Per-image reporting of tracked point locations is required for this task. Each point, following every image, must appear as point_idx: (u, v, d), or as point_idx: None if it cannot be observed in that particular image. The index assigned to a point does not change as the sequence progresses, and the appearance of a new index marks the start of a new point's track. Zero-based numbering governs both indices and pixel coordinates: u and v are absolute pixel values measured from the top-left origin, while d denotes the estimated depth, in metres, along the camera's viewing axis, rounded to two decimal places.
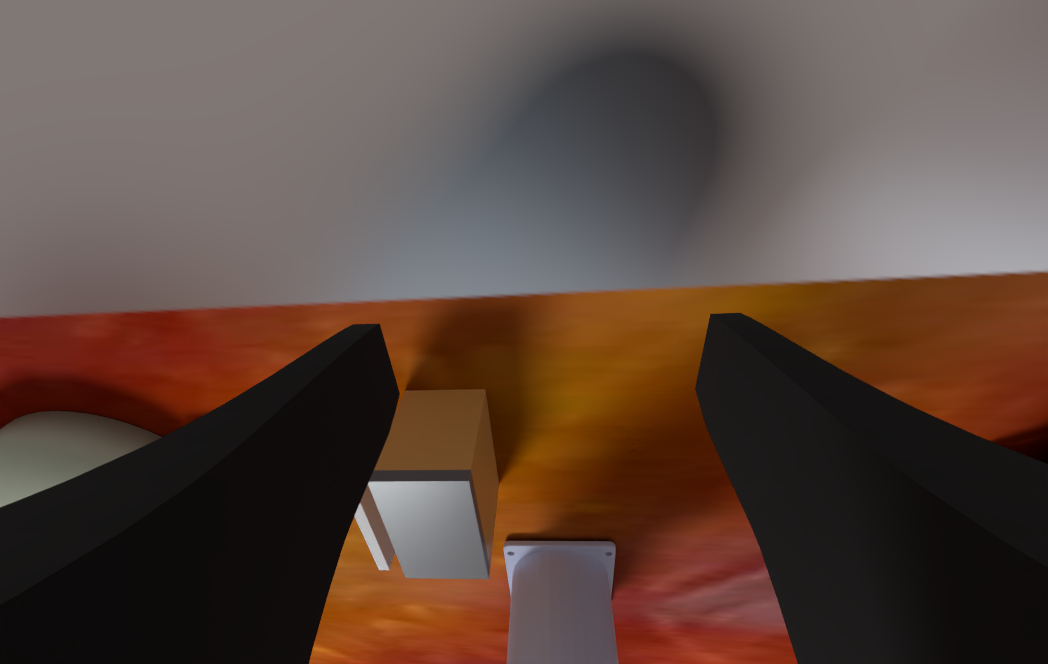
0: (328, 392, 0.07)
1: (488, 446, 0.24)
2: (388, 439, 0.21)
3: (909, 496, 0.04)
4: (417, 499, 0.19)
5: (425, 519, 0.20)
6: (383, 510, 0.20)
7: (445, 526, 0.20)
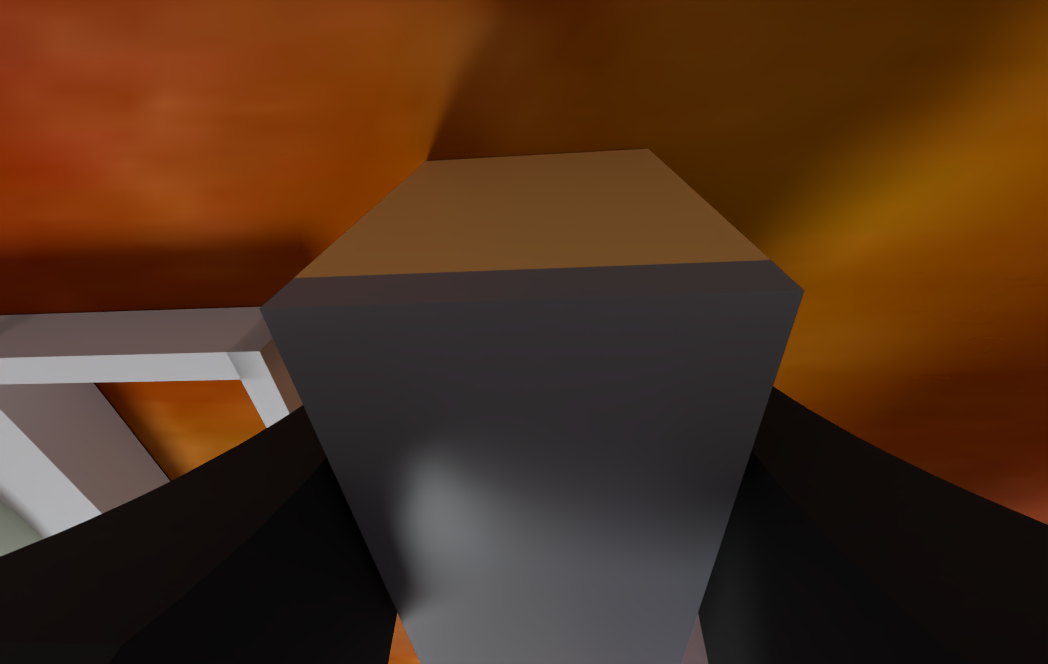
0: None
1: None
2: (375, 217, 0.06)
3: (775, 496, 0.04)
4: (502, 409, 0.04)
5: (520, 505, 0.05)
6: (352, 467, 0.05)
7: (593, 533, 0.05)
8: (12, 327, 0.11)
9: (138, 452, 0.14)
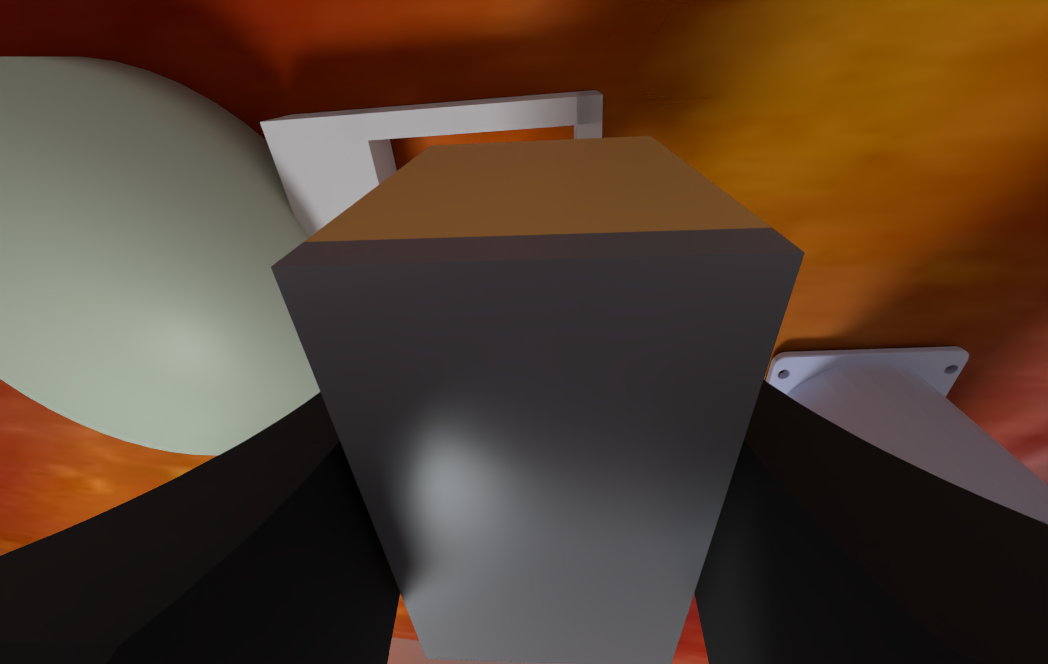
0: None
1: None
2: (382, 192, 0.06)
3: (775, 497, 0.04)
4: (506, 374, 0.04)
5: (522, 475, 0.05)
6: (357, 434, 0.05)
7: (593, 504, 0.05)
8: (375, 109, 0.14)
9: None
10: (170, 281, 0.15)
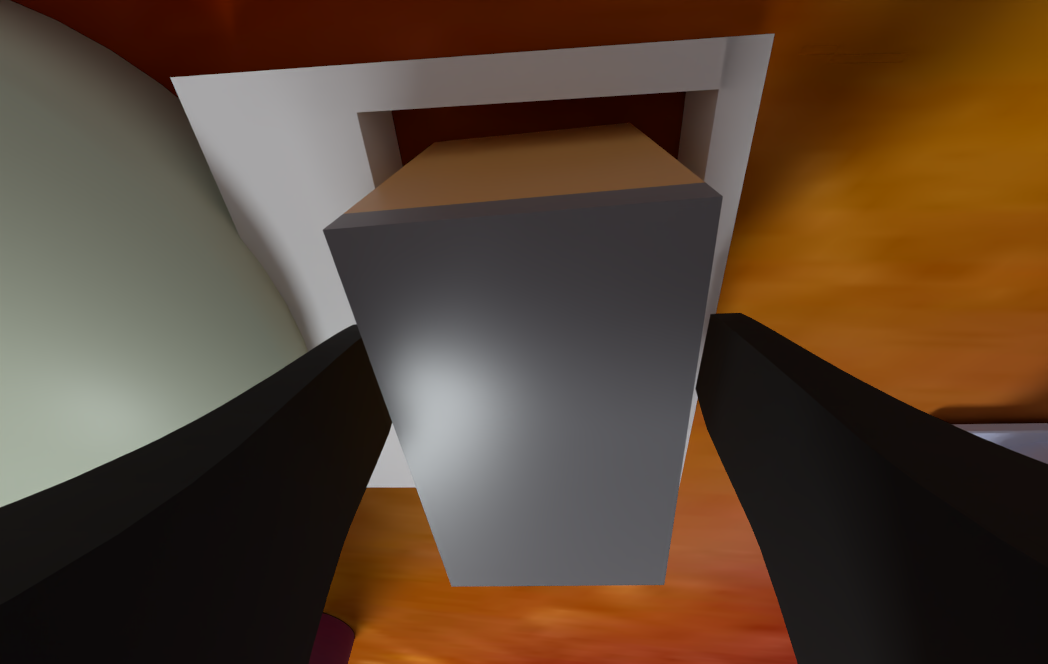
0: (328, 392, 0.07)
1: None
2: (398, 178, 0.07)
3: (909, 496, 0.04)
4: (505, 309, 0.05)
5: (523, 399, 0.06)
6: (389, 368, 0.06)
7: (583, 424, 0.06)
8: None
9: None
10: (45, 335, 0.10)
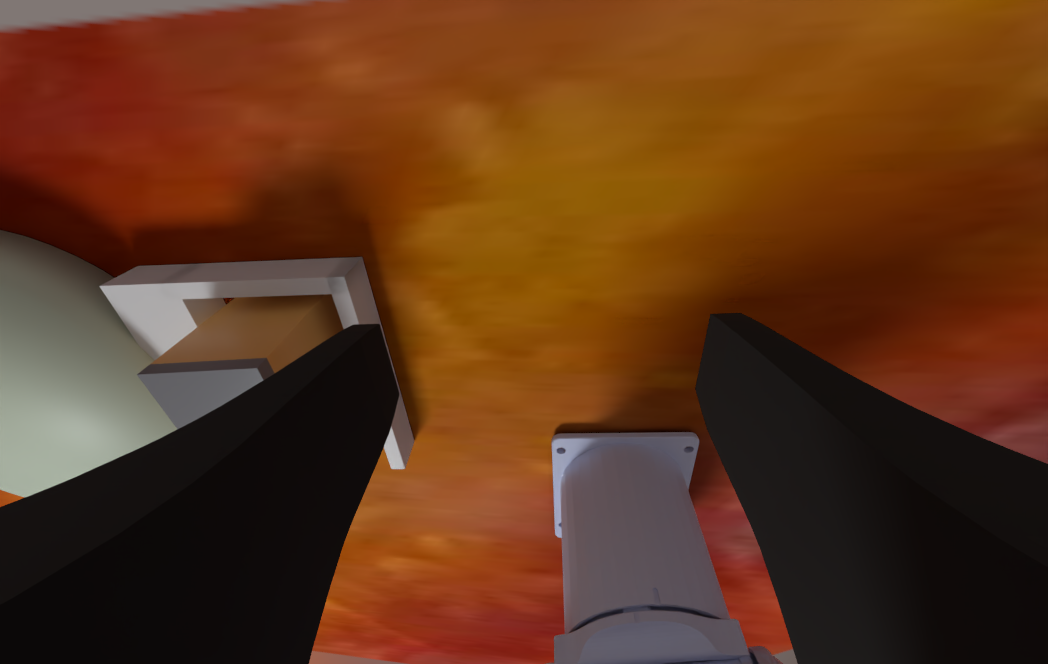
0: (328, 392, 0.07)
1: None
2: (190, 336, 0.17)
3: (909, 496, 0.04)
4: (206, 398, 0.15)
5: None
6: (174, 417, 0.16)
7: None
8: (194, 269, 0.19)
9: None
10: (45, 391, 0.20)
